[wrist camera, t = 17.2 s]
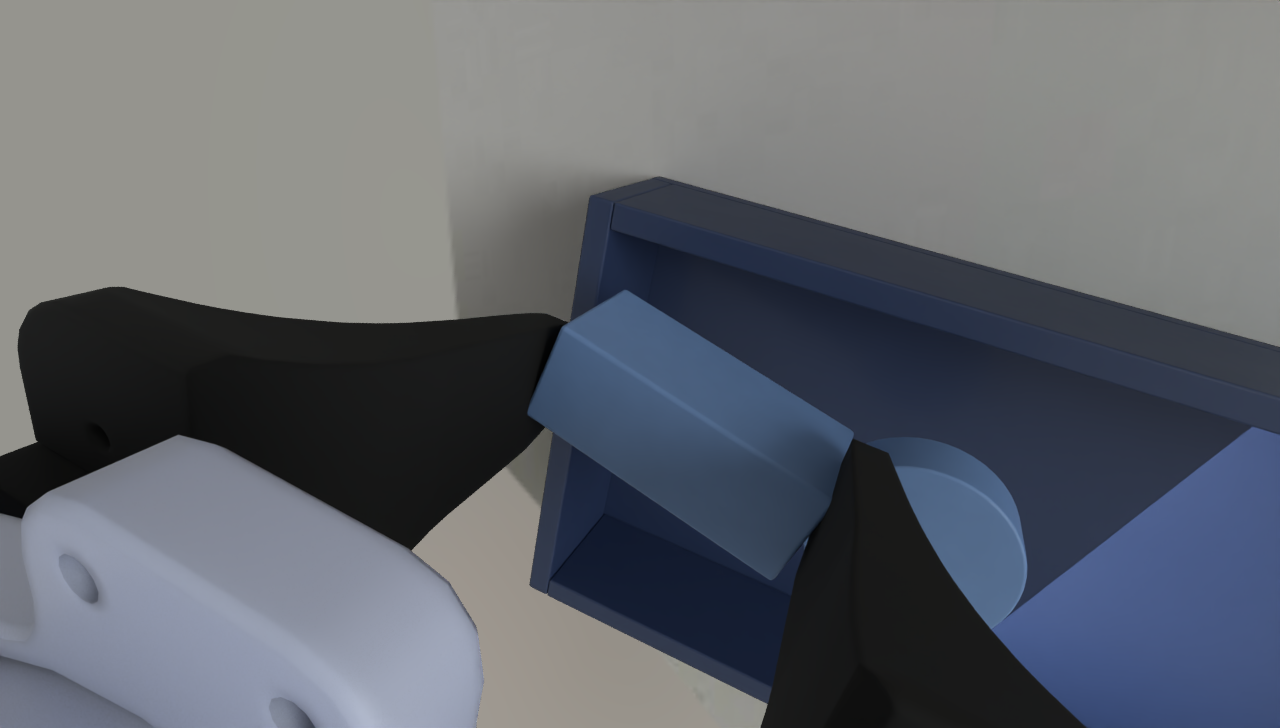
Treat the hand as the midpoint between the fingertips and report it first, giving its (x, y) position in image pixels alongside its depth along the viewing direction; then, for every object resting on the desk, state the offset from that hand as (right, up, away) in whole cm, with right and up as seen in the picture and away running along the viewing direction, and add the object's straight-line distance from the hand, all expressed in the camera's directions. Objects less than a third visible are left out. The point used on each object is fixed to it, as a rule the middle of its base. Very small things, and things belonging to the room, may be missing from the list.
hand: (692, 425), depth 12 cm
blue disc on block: (+2, -1, +1) cm, 2 cm away
